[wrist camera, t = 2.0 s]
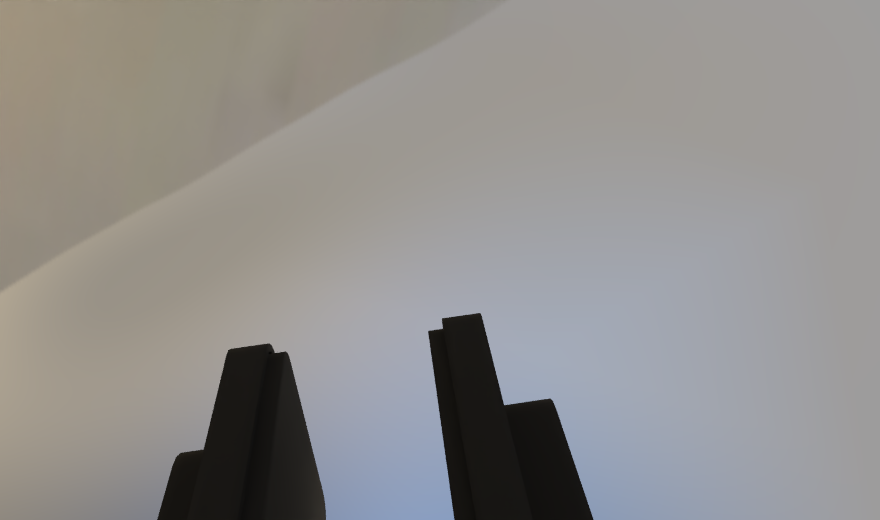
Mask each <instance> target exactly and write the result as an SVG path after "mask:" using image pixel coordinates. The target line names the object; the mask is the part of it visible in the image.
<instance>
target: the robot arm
mask: <svg viewBox="0 0 880 520" xmlns="http://www.w3.org/2000/svg"><path fill="white" fill-rule="evenodd" d="M442 324H443V329H439V330H433V331H428V333H429V340H430V348H431V355H432V362H433V369H434V376H435V384H436V390H437V397H438V404H439V412H440V419H441V426H442V433H443V440H444V448H445V455H446V462H447V469H448V476H449V483H450V491H451V498H452V505H453V511H454V519H455V520H593V517H592V514H591V511H590V508H589V505H588V502H587V499H586V496H585V493H584V490H583V487H582V484H581V481H580V479H579V475H578V473H577V470H576V467H575V464H574V461H573V458H572V455H571V452H570V449H569V446H568V443H567V440H566V437H565V434H564V431H563V428H562V425H561V422H560V419H559V417H558V413H557V411H556V408H555V405H554V403H553V401H552V400H551V399H544V400H537V401H531V402H524V403H518V404H511V405H504V404H503V400H502V395H501V391H500V387H499V383H498V379H497V375H496V371H495V367H494V363H493V359H492V355H491V351H490V347H489V343H488V340H487V336H486V332H485V328H484V324H483V320H482V316H481V314H480V313H477V314H471V315H463V316H456V317H449V318H442ZM157 520H326V510H325V501H324V495H323V490H322V486H321V482H320V478H319V474H318V470H317V466H316V463H315V458H314V454H313V450H312V446H311V442H310V438H309V434H308V430H307V426H306V422H305V418H304V414H303V410H302V406H301V402H300V398H299V394H298V390H297V386H296V382H295V378H294V374H293V370H292V366H291V362H290V359H289V355H288V353H287V352H280V353H274V350H273V348H272V345H270V344H262V345H255V346H248V347H241V348H234V349H230V350H228V353H227V356H226V360H225V364H224V368H223V373H222V376H221V380H220V384H219V389H218V393H217V397H216V401H215V405H214V410H213V414H212V418H211V422H210V426H209V430H208V434H207V439H206V443H205V447H204V450H198V451H191V452H184V453H180V454H179V455H178V456H177V457H176V459H175V461H174V464H173V466H172V470H171V473H170V477H169V480H168V484H167V488H166V491H165V495H164V498H163V501H162V505H161V509H160V512H159V516H158V519H157Z"/></svg>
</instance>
